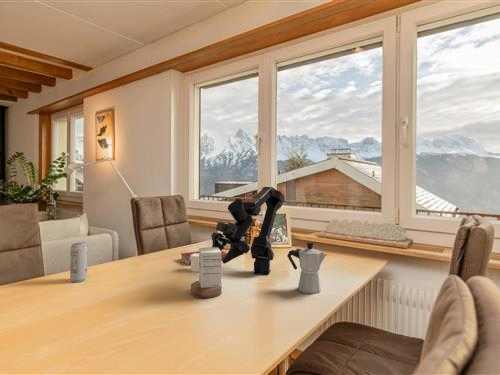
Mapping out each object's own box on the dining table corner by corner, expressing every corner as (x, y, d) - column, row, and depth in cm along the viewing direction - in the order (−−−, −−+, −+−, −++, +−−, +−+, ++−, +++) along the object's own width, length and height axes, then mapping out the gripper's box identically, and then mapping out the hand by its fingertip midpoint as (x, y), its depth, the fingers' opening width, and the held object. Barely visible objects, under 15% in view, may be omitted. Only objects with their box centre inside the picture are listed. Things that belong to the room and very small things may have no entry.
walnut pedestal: (225, 289, 117) (225, 281, 117) (215, 300, 106) (215, 291, 106) (197, 286, 119) (197, 278, 119) (185, 296, 109) (185, 288, 109)
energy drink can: (89, 280, 125) (89, 243, 125) (73, 283, 121) (73, 245, 120) (84, 277, 129) (84, 241, 129) (67, 280, 125) (68, 242, 124)
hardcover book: (228, 261, 160) (228, 252, 160) (189, 266, 148) (189, 257, 148) (217, 256, 170) (217, 248, 170) (180, 261, 159) (180, 252, 158)
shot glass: (202, 272, 137) (202, 257, 137) (187, 271, 139) (187, 256, 138) (207, 268, 144) (207, 253, 144) (193, 267, 145) (193, 252, 145)
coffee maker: (327, 288, 119) (328, 241, 119) (325, 296, 111) (326, 245, 111) (289, 283, 124) (290, 238, 124) (284, 290, 116) (285, 242, 116)
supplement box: (198, 281, 116) (198, 247, 115) (218, 279, 118) (218, 246, 117) (200, 288, 109) (200, 252, 108) (221, 287, 110) (221, 251, 110)
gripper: (215, 212, 125) (190, 242, 119) (243, 216, 111) (217, 251, 104) (231, 229, 131) (208, 260, 124) (260, 236, 116) (235, 271, 109)
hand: (216, 260), depth 115 cm, fingers open, 9 cm apart
